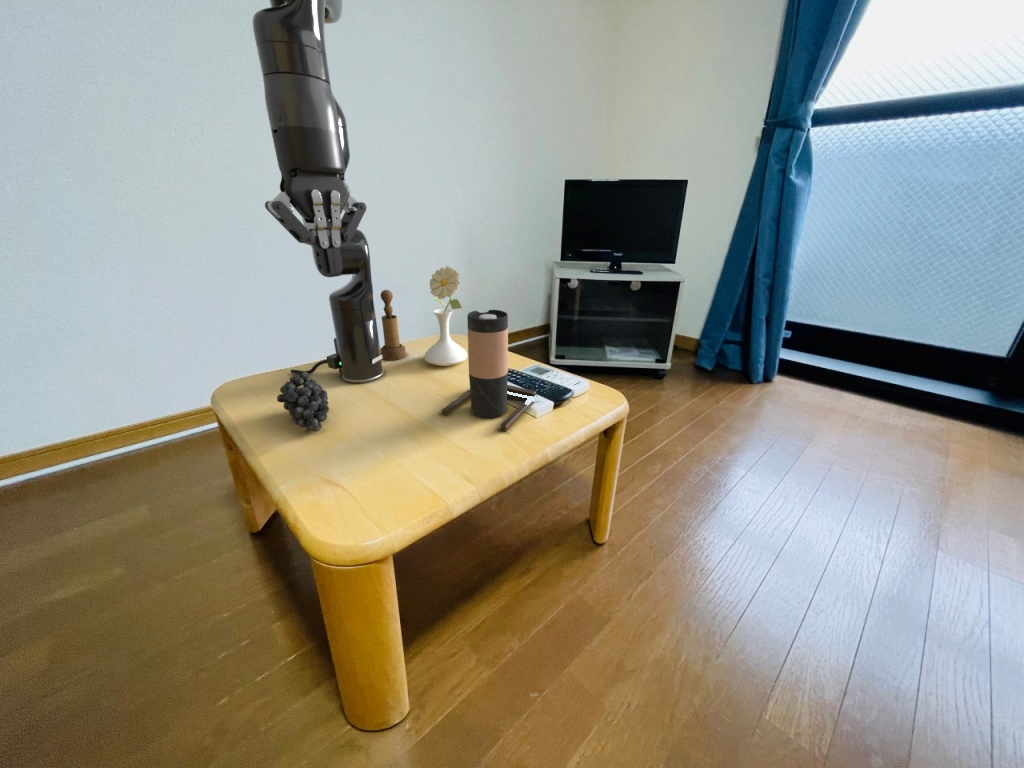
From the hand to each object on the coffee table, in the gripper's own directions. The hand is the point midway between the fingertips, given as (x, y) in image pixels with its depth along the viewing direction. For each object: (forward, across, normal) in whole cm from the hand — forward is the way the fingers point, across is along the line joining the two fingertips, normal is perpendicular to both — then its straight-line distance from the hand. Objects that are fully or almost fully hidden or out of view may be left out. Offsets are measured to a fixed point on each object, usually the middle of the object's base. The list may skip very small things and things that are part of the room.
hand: (331, 276), depth 54 cm
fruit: (+29, 0, -17) cm, 34 cm away
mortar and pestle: (+29, -33, -33) cm, 55 cm away
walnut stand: (+29, -25, +7) cm, 39 cm away
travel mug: (+29, -24, +8) cm, 39 cm away
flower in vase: (+29, -38, -18) cm, 52 cm away
